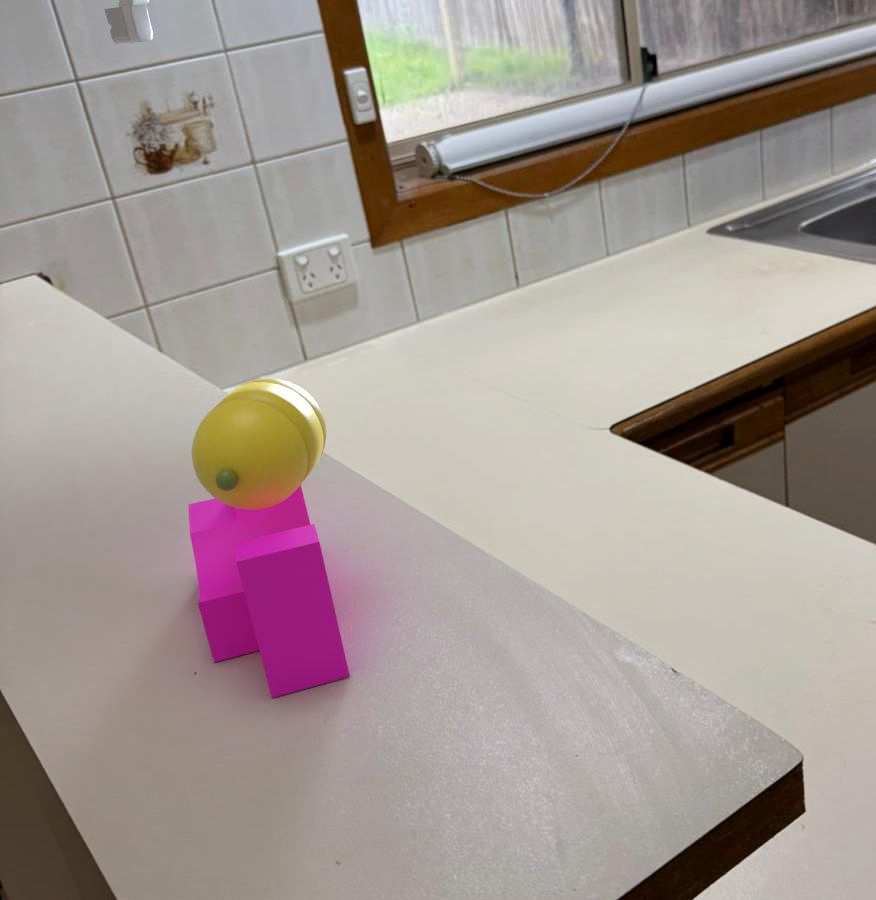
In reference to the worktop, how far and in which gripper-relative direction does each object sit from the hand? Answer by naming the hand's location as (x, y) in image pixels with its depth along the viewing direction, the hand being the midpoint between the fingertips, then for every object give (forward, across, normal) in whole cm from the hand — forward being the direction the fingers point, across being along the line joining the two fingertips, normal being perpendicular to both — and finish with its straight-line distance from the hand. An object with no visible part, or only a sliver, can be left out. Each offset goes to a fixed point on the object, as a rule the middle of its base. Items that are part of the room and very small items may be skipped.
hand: (51, 51), depth 61 cm
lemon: (+21, +10, -11) cm, 26 cm away
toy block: (+29, +10, -11) cm, 33 cm away
